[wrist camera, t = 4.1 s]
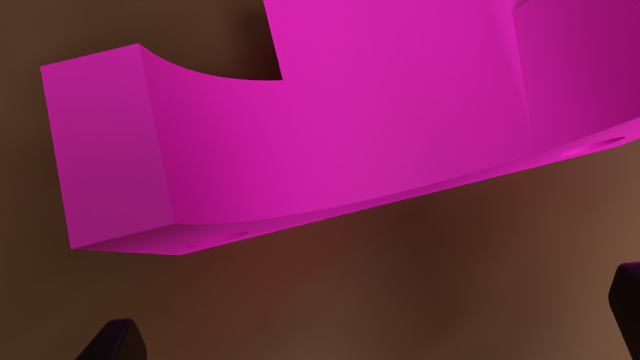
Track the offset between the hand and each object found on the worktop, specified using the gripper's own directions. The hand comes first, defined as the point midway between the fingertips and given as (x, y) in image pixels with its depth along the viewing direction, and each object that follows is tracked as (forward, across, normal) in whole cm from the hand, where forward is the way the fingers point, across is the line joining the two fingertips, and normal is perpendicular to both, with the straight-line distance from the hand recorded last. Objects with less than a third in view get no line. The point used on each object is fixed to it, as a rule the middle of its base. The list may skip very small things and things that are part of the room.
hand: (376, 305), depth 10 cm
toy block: (+10, -1, +1) cm, 10 cm away
